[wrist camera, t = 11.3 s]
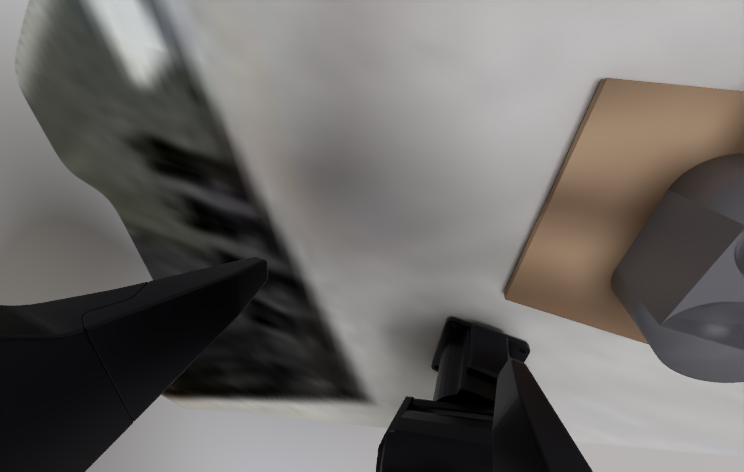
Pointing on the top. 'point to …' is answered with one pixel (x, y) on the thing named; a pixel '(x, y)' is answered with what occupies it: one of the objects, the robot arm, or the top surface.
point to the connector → (692, 273)
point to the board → (618, 192)
